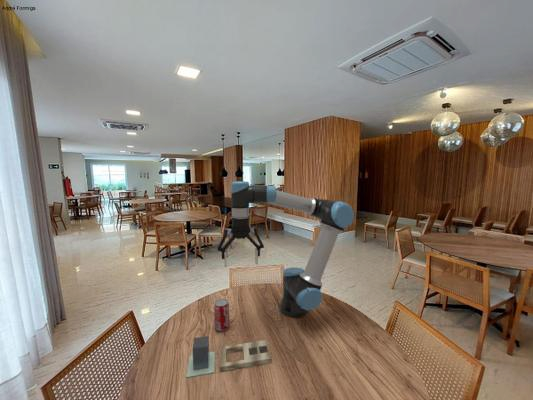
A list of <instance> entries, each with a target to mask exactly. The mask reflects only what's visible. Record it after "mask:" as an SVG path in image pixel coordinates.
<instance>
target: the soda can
mask: <svg viewBox="0 0 533 400" xmlns="http://www.w3.org/2000/svg"><path fill="white" fill-rule="evenodd" d="M213 309H214V310H213V312H214V313H213V314H214V329H216V331H218V332H225V331H227V330H228V328H229V327H230V323H231V322H230V304H229V301H228V299H225V298H220V299H217V300H216V301H215V302H214V307H213Z"/></svg>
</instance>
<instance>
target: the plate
mask: <svg viewBox="0 0 533 400" xmlns="http://www.w3.org/2000/svg"><path fill="white" fill-rule="evenodd" d="M235 352H242V355H243V356H242V357H243V359H241V360H235V361H228V362H227V354H230V353H235ZM271 363H272V356H271V352H270V348H269V345H268V341H267V339H264V340H257V341H256V340H255V341H250V342H245V343H238V344H230V345H224V346H219V373H222V372H228V371H233V370H238V369H239V370H240V369H247V368H251V367H256V366H261V365H267V364H271Z"/></svg>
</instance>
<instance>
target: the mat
mask: <svg viewBox="0 0 533 400" xmlns="http://www.w3.org/2000/svg"><path fill="white" fill-rule="evenodd" d="M215 359H216V351H209V367H208V368H206V369H200V370H194V371H193V354H189V358H188V364H187V370H186V374H185V375H186V376H185V378H186V379H188V378H189V379H190V378H194V377H199V376H200V377H201V376H205V375H210V374H212V375H213V374H214V373H215V364H216V363H215Z"/></svg>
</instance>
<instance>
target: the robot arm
mask: <svg viewBox="0 0 533 400" xmlns="http://www.w3.org/2000/svg"><path fill="white" fill-rule="evenodd" d="M249 183H250V182H249V181H232V183H231V191H230V193H231V217H232V218H231V228H227V227H226V228H224V234H223V236H222V238H221V240H220V242H219V244H218V246H217V248H216V249H217V252H221V259H222V260H224V268H227V267H228V266H227V249H228V247H229V246H230V245H231V244H233V242H234V241H235V240H236V239H237V240H240V239H243V240H245V239H248V241H250V243H251V244H252V245H253V246H254V247H255V248H254V263H255V265H259V264H258V263H259V262H258V259H259V257H260V256H261V249H264V248H265V245H264V244H263V241H262V240H261V237H260V235H259V233H258V231H257V227H255V226H253V227H250V218H249V217H250V204H262V203H263V204H270V205H275V206H278V207H283V208H286V209H291V210H295V211H299V212H303V213H306V215H308V216H311V217H314V218H317V219H319V220H320V222H319V224H320V226H321V228H320V231H319V232H318V236H317V238H316V240H315V243H314V246H313V248H312V251H311V253H310V256H309V259H308V260H307V264H306V266H305V269H303V268H301V267H293V266H292V267H288V268H285V269H284V270H283V272H282V278H283V279H282V286H283V287H282V297H281V299H280V303H279V310H280V312H281V313H282V314H283V315H284V316H286V317H289V318H301V317H303V316H305V315H306V314H307V313H308V311H312V310H314V309H317V308H318V307H319V306H320V305H321V303H322V301H323V295H322V292H321V289H322V287H323V283H322V278H323V275H324V272H325V269H326V267H327V264H328V262H329V259H330V257H331V255H332V252H333V250H334V248H335V247H334V246H335V244H336V243H337V238H338V237H339V235H340V234H342V233H343V232H344V230H345V228H348V227H349V226H351V225H352V224H353V222H354V217H355V213H354V210H353V208H352V206H351V205H350V204H348V203H346V202H343V201H341V200H332V199H324V198H322V199H321V198H316V197H310V198H308V197H303V196H300V195H295V194H292V193H288V192H286V191H280V190H277V189H276V187H275V186H274V185H258V184H252V185H250V184H249ZM251 232H252V233H253V235H255V238H256V239H257V241H258V243H257V242H256V241H255V240H254V239H253V238H252V236H250V233H251ZM230 233H231V234H232V235H231V237H230V238H229V239H228V240H227V242H225V241H226V239H227V237H228V235H230ZM224 243H225V244H224Z"/></svg>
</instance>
